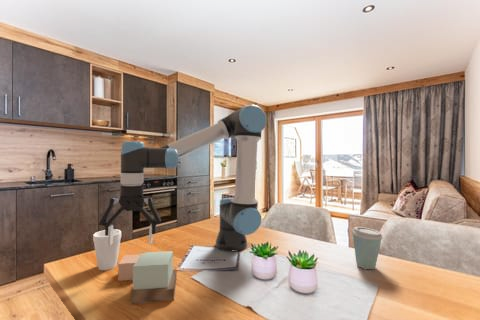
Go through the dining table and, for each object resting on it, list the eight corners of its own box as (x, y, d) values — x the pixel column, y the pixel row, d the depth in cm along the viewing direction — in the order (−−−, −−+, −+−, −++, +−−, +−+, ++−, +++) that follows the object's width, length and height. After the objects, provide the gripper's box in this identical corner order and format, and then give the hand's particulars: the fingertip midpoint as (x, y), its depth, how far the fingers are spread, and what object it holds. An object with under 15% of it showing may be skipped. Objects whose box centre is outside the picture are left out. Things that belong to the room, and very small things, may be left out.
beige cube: (144, 269, 90) (144, 254, 90) (139, 279, 83) (139, 262, 83) (124, 271, 88) (124, 255, 88) (118, 281, 82) (118, 263, 81)
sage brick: (172, 271, 81) (172, 251, 81) (167, 287, 71) (168, 264, 71) (142, 273, 80) (142, 252, 80) (133, 289, 70) (133, 266, 70)
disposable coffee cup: (367, 259, 100) (368, 224, 100) (388, 271, 90) (389, 232, 90) (345, 262, 98) (346, 226, 98) (365, 275, 87) (366, 234, 87)
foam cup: (108, 273, 86) (108, 238, 86) (87, 270, 88) (87, 236, 88) (126, 262, 96) (126, 230, 95) (106, 259, 98) (106, 228, 97)
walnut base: (176, 280, 83) (176, 269, 83) (173, 301, 71) (173, 288, 71) (139, 284, 80) (139, 272, 80) (130, 306, 69) (130, 292, 69)
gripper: (169, 183, 91) (168, 238, 91) (98, 183, 86) (96, 241, 87) (167, 185, 84) (165, 245, 84) (89, 185, 79) (88, 249, 79)
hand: (130, 243), depth 85 cm, fingers open, 13 cm apart
